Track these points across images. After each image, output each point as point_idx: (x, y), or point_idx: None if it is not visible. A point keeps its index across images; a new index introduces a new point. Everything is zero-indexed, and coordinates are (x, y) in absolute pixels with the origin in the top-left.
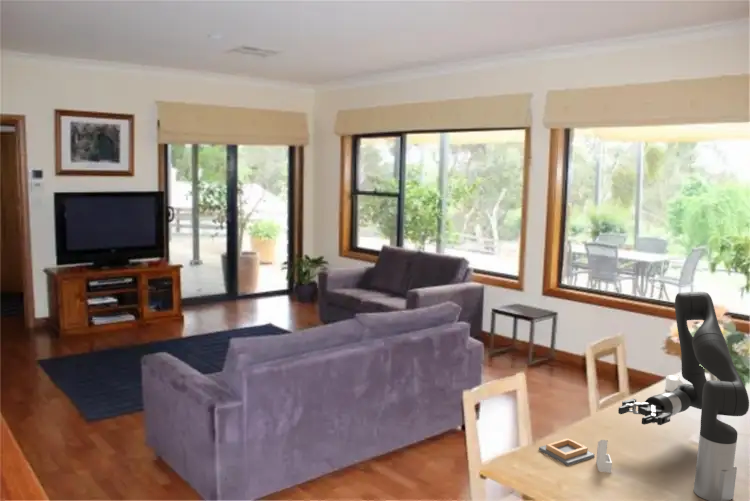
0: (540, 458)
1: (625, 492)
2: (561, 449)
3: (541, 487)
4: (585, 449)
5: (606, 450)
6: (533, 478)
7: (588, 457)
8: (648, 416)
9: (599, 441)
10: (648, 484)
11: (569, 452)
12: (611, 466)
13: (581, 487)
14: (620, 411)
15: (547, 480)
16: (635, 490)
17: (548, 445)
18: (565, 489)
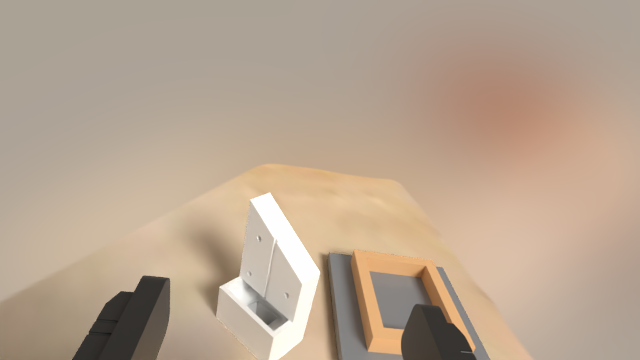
0: (391, 247)
1: (115, 250)
2: (414, 300)
3: (279, 176)
4: (369, 330)
5: (245, 236)
6: (315, 187)
7: (337, 333)
8: (119, 335)
9: (294, 234)
10: (43, 347)
11: (363, 266)
12: (218, 297)
13: (225, 209)
14: (408, 324)
15: (294, 194)
16: (86, 277)
17: (424, 259)
18: (244, 190)
